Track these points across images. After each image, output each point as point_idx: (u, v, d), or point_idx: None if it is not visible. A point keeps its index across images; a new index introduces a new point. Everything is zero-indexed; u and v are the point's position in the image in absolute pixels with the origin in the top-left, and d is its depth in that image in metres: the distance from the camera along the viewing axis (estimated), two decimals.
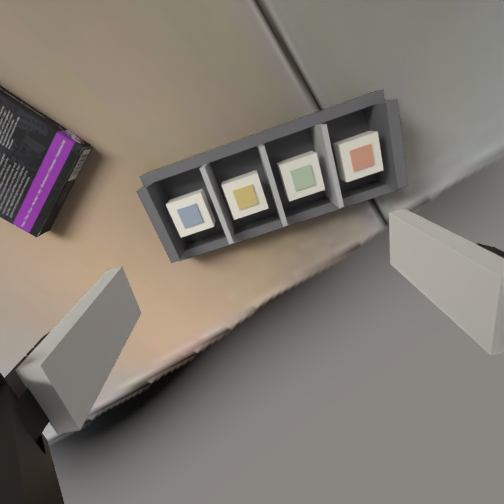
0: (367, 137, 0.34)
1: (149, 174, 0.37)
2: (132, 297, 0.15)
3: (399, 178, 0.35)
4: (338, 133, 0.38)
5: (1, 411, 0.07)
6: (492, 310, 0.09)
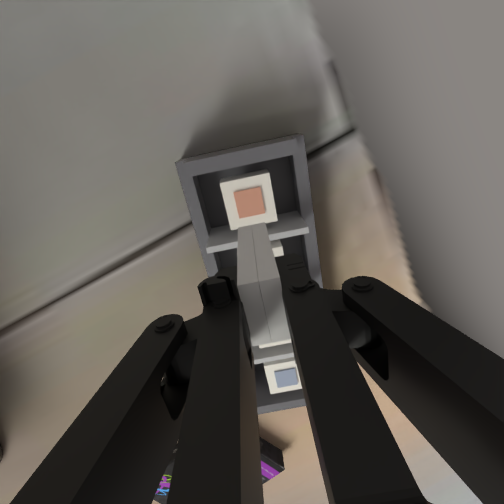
0: (225, 196, 0.27)
1: None
2: None
3: (283, 153, 0.25)
4: (223, 200, 0.32)
5: (233, 322, 0.09)
6: (264, 307, 0.11)
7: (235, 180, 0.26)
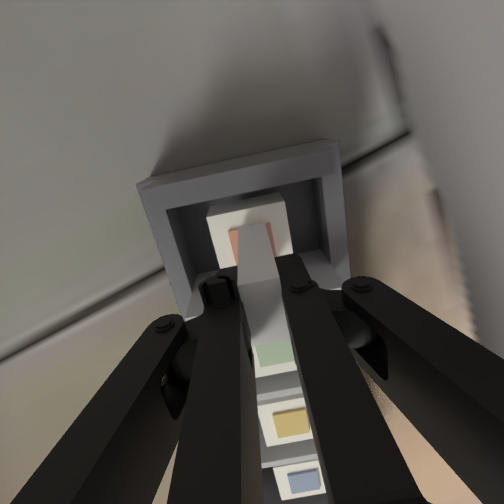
0: (216, 236, 0.17)
1: None
2: None
3: (311, 172, 0.15)
4: None
5: (233, 322, 0.09)
6: (264, 307, 0.11)
7: (231, 212, 0.17)
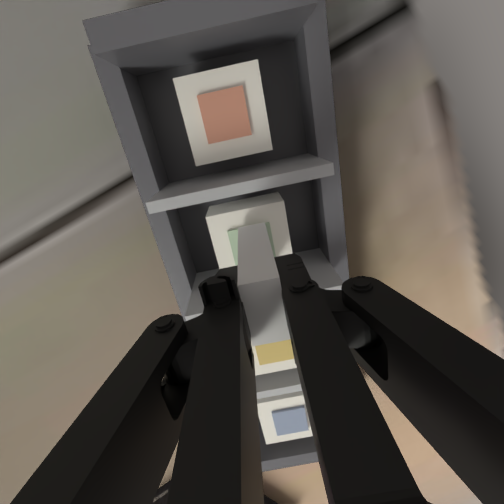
0: (184, 103, 0.16)
1: None
2: None
3: (288, 0, 0.12)
4: None
5: (233, 322, 0.09)
6: (264, 307, 0.11)
7: (199, 74, 0.15)
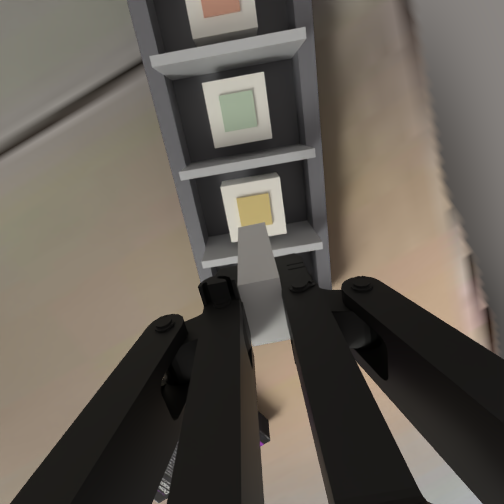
0: None
1: None
2: None
3: None
4: (187, 25, 0.23)
5: (233, 322, 0.09)
6: (264, 307, 0.11)
7: None
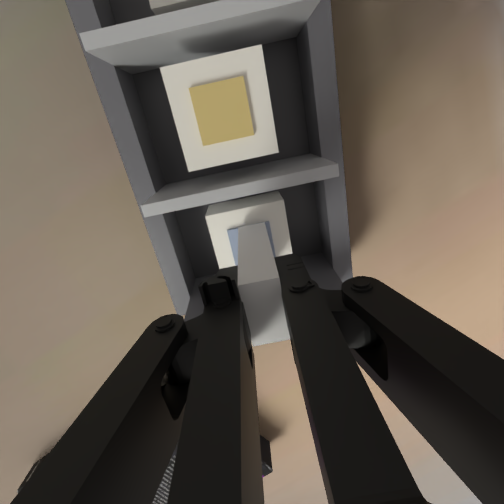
0: None
1: (174, 300, 0.20)
2: None
3: None
4: None
5: (233, 322, 0.09)
6: (264, 307, 0.11)
7: None
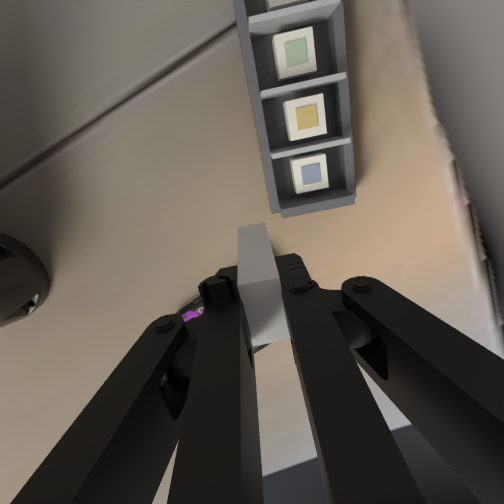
0: None
1: (271, 205, 0.42)
2: None
3: None
4: (260, 1, 0.36)
5: (233, 322, 0.09)
6: (264, 307, 0.11)
7: None
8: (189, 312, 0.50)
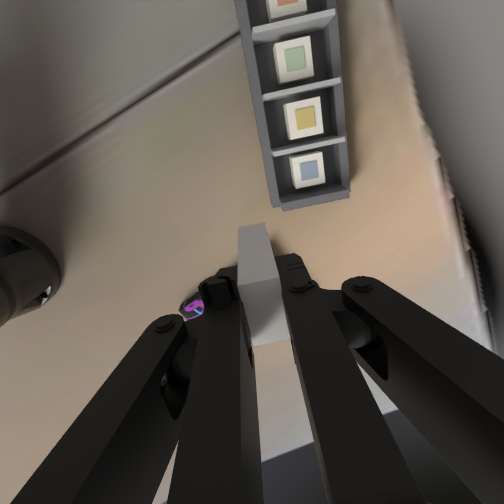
0: None
1: (272, 199, 0.46)
2: None
3: None
4: (262, 12, 0.39)
5: (233, 322, 0.09)
6: (264, 307, 0.11)
7: None
8: (196, 301, 0.53)
